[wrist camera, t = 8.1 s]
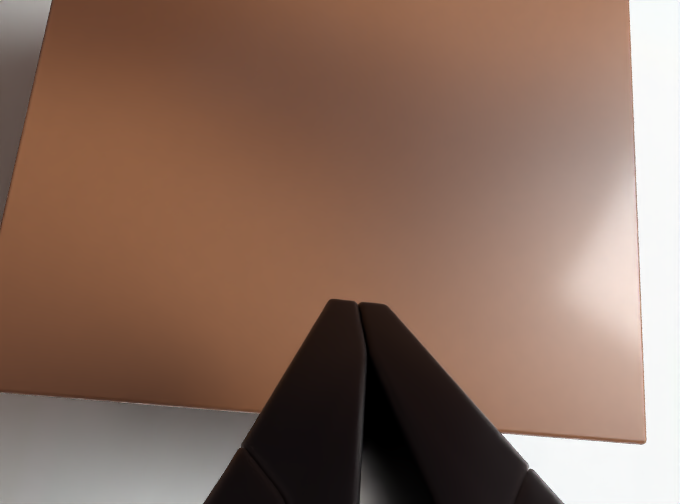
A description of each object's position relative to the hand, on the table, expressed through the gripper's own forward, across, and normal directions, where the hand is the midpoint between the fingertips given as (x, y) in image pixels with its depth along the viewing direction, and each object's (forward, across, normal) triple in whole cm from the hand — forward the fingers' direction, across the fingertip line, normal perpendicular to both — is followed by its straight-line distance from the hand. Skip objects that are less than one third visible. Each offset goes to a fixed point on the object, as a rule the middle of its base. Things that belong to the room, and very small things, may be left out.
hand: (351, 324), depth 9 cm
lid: (+6, 0, -1) cm, 6 cm away
